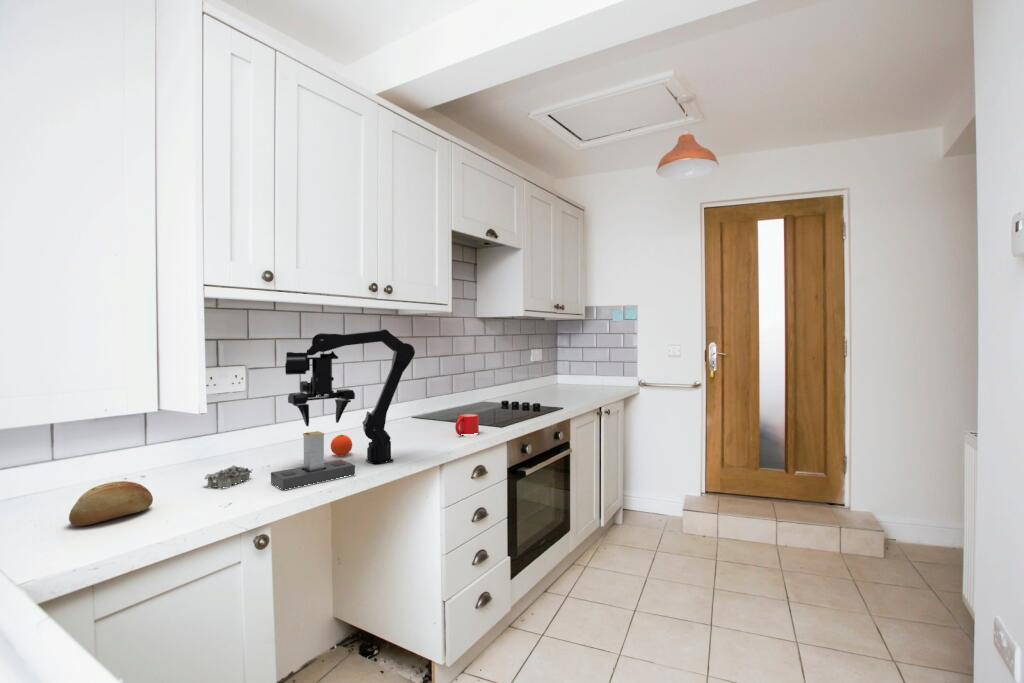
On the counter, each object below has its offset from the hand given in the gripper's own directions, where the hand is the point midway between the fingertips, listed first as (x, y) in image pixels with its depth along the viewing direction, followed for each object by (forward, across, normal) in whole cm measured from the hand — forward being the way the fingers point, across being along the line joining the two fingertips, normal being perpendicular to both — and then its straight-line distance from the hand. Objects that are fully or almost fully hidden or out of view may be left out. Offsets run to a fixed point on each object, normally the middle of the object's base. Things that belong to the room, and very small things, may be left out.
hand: (322, 424), depth 153 cm
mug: (+13, -61, -9) cm, 63 cm away
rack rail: (+13, +7, +12) cm, 19 cm away
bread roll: (+13, +51, +12) cm, 54 cm away
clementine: (+13, -10, -10) cm, 19 cm away
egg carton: (+14, +26, 0) cm, 29 cm away
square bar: (+13, +7, +12) cm, 19 cm away
